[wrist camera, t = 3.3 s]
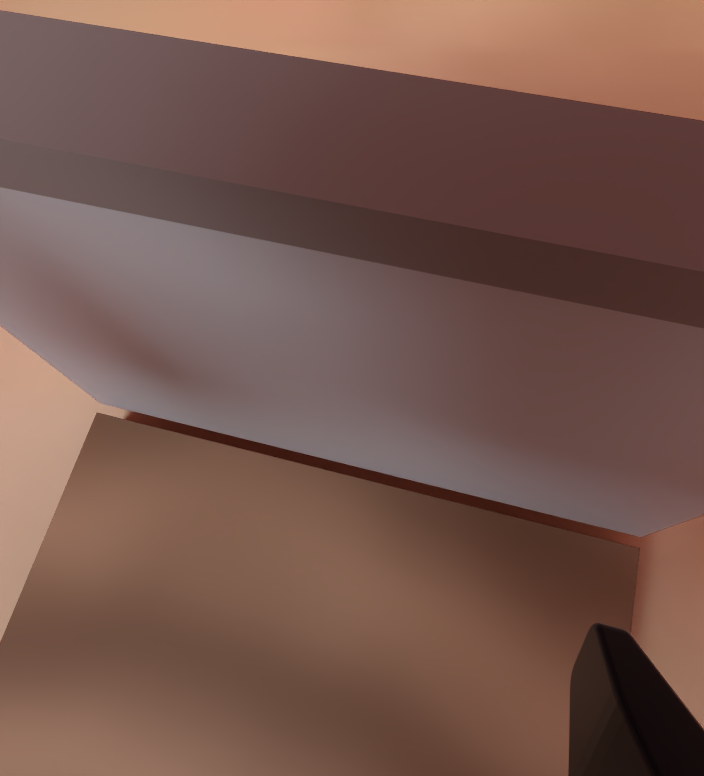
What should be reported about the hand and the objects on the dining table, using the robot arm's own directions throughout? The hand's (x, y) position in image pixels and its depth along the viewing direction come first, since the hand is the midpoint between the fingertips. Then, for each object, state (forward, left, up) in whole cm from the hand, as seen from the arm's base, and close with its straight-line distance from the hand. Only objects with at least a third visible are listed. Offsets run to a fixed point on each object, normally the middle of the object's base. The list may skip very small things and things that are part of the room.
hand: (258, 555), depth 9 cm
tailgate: (+2, -3, -9) cm, 9 cm away
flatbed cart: (-3, +3, -10) cm, 11 cm away
